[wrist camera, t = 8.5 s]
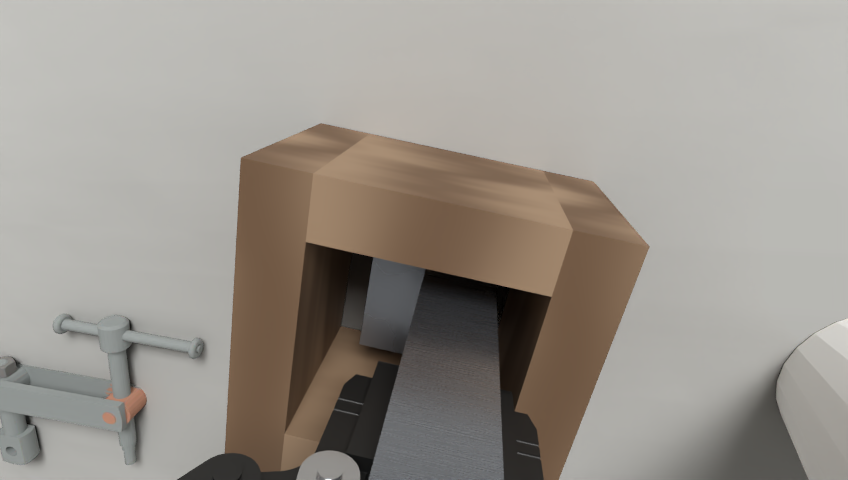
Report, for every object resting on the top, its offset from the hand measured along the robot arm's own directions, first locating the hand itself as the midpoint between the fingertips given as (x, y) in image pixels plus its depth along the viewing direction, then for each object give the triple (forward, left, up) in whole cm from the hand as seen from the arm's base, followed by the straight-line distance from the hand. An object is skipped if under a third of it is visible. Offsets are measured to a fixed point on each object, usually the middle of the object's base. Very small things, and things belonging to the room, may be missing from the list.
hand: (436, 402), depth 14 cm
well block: (+1, 0, -8) cm, 8 cm away
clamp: (+18, +11, -9) cm, 23 cm away
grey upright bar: (+1, 0, -6) cm, 6 cm away
